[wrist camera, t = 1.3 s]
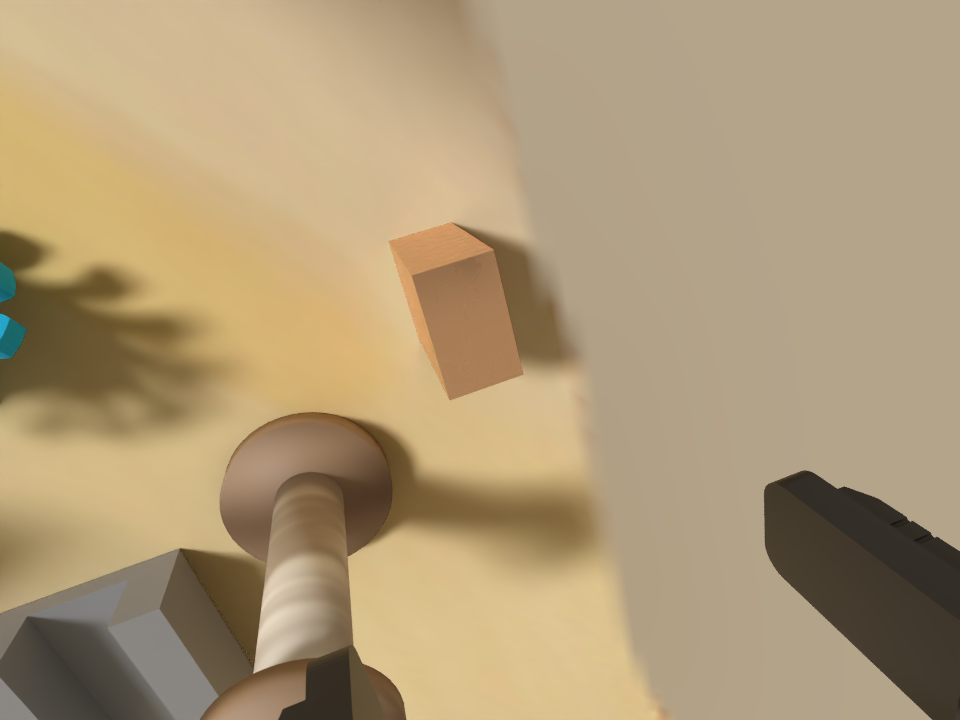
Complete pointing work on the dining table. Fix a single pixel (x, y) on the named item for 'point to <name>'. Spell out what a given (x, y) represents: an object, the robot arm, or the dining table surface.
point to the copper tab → (458, 308)
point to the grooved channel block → (119, 649)
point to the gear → (4, 333)
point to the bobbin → (303, 550)
